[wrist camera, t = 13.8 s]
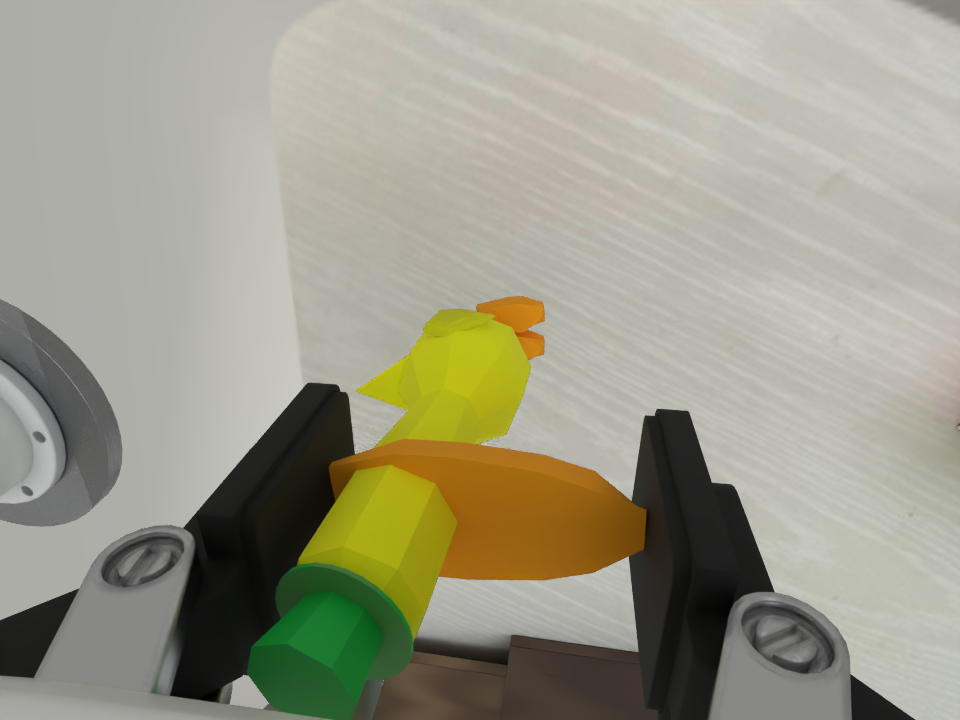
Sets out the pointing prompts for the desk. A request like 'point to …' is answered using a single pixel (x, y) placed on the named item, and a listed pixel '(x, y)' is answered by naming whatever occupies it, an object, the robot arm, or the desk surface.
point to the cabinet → (572, 683)
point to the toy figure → (434, 514)
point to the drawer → (434, 691)
